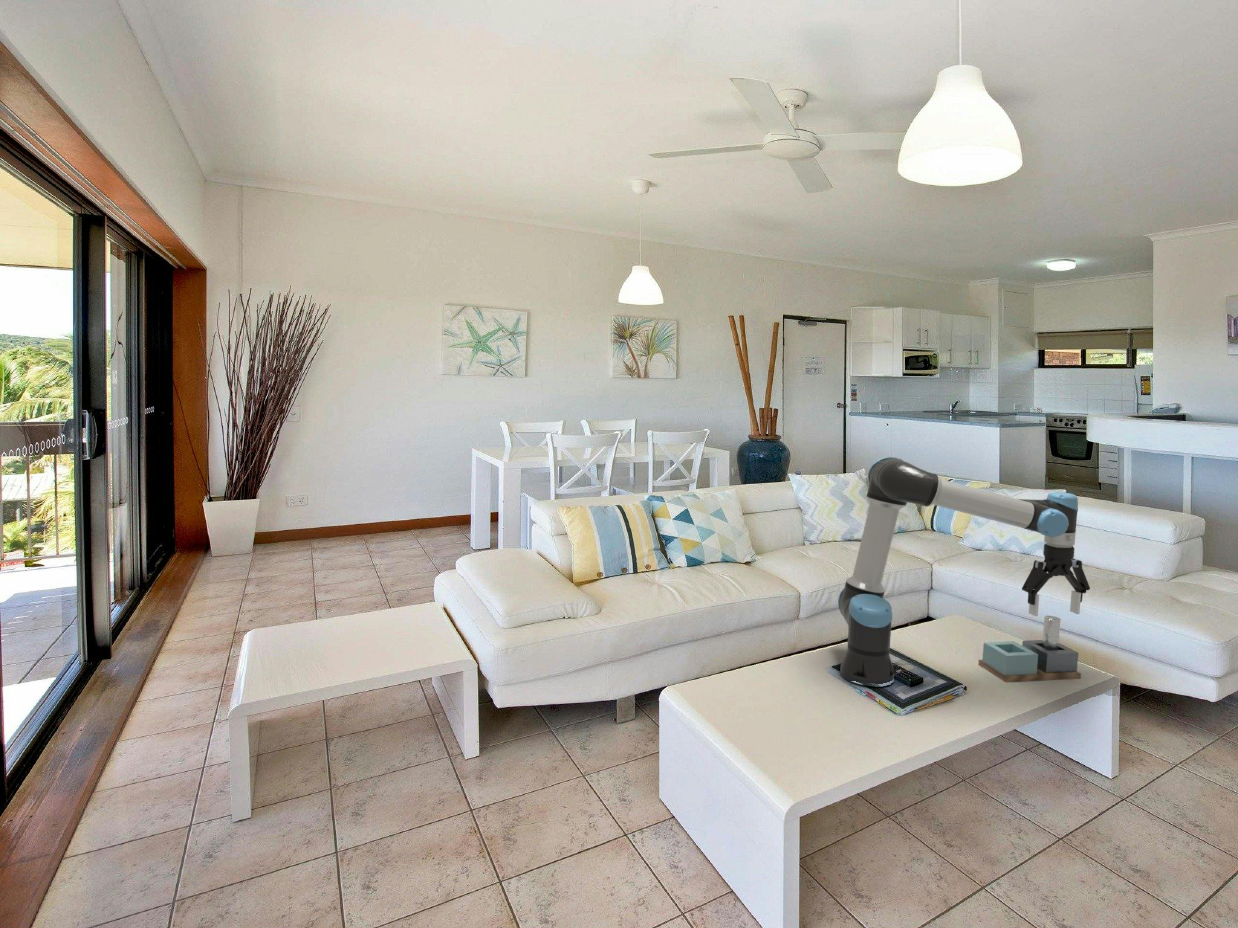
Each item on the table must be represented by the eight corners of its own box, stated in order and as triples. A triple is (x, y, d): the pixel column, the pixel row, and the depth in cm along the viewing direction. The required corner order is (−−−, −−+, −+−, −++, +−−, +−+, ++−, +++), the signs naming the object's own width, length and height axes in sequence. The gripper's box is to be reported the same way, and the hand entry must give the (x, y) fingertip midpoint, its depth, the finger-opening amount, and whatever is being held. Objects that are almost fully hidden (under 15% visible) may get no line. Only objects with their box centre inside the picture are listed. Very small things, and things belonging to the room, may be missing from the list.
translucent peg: (1047, 665, 194) (1051, 620, 192) (1037, 659, 198) (1041, 615, 196) (1059, 664, 195) (1063, 620, 193) (1049, 659, 198) (1053, 615, 197)
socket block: (1045, 673, 191) (1047, 653, 190) (1021, 659, 201) (1022, 640, 200) (1076, 671, 192) (1078, 652, 191) (1050, 657, 202) (1052, 639, 201)
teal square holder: (1005, 675, 189) (1006, 655, 189) (982, 661, 199) (983, 642, 199) (1036, 673, 191) (1038, 654, 190) (1012, 659, 200) (1013, 641, 200)
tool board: (1005, 681, 189) (1005, 676, 188) (978, 664, 200) (978, 659, 200) (1080, 678, 191) (1080, 673, 191) (1049, 661, 203) (1049, 656, 203)
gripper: (1029, 549, 187) (1024, 619, 189) (1108, 546, 190) (1102, 616, 192) (1011, 543, 194) (1006, 611, 197) (1087, 540, 197) (1081, 607, 199)
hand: (1053, 613), depth 194 cm, fingers open, 13 cm apart
